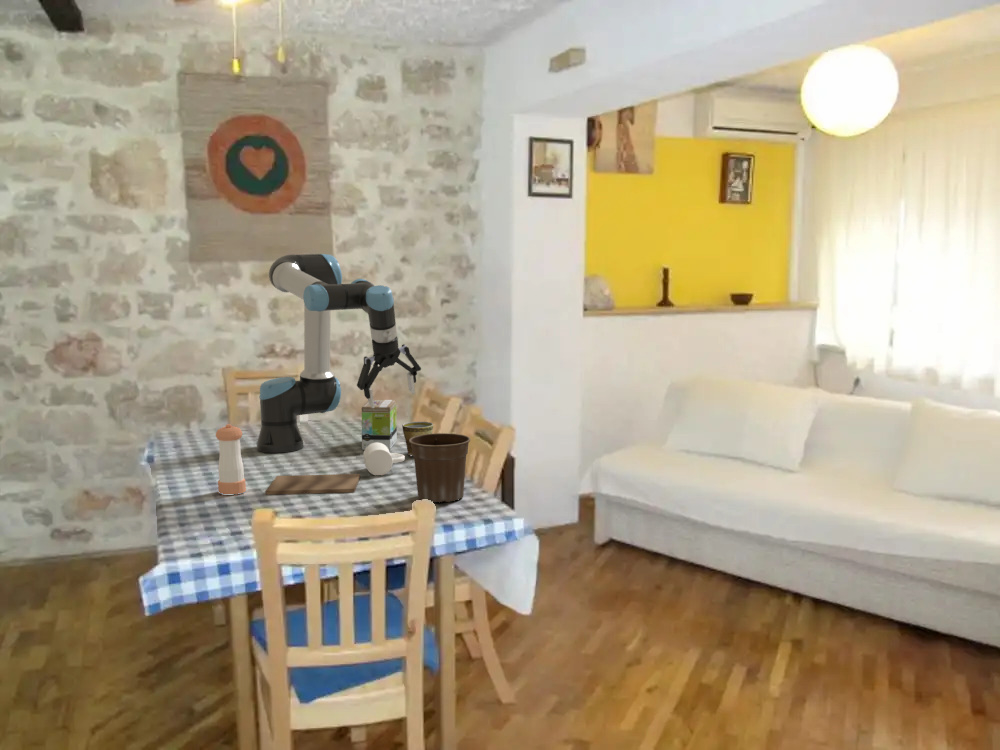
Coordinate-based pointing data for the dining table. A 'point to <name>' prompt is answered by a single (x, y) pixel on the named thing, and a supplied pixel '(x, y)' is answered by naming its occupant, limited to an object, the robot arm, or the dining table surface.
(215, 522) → the dining table surface
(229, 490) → the pepper shaker
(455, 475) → the plant pot
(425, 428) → the ceramic cup
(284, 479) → the walnut board
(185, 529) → the dining table surface
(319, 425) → the dining table surface
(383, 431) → the tea box
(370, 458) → the mug
